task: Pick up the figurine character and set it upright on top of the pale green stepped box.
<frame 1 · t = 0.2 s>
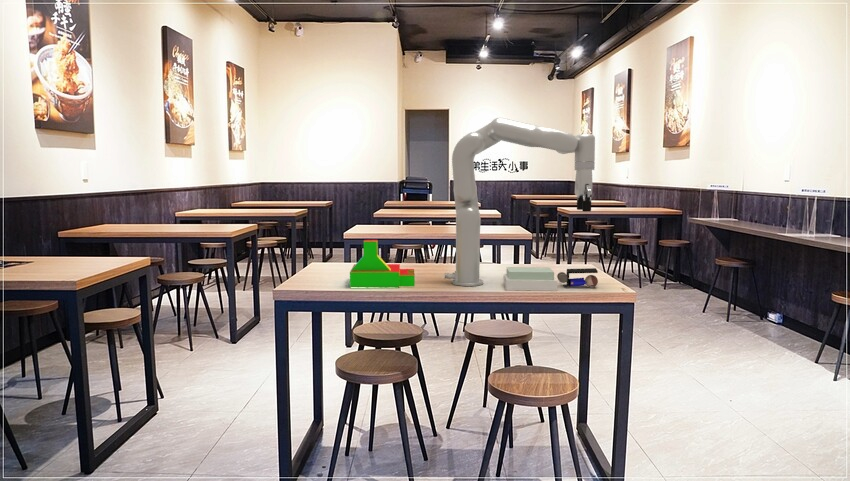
hand: (583, 210, 228), 30 cm above the table, tool pointing down, fingers open, 9 cm apart
pale green stepped box: (529, 287, 227), on the table
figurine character: (577, 287, 228), on the table
building blocks toy: (383, 284, 235), on the table
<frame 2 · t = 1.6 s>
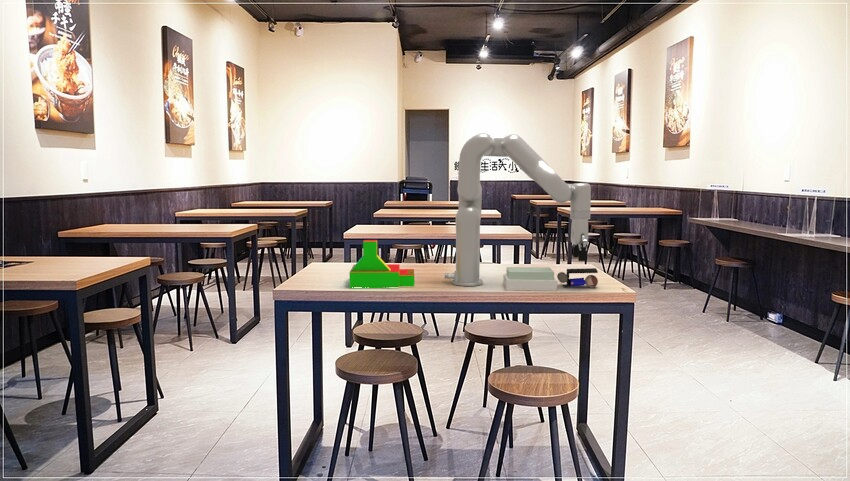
hand: (579, 258, 227), 11 cm above the table, tool pointing down, fingers open, 9 cm apart
nothing on the table moved.
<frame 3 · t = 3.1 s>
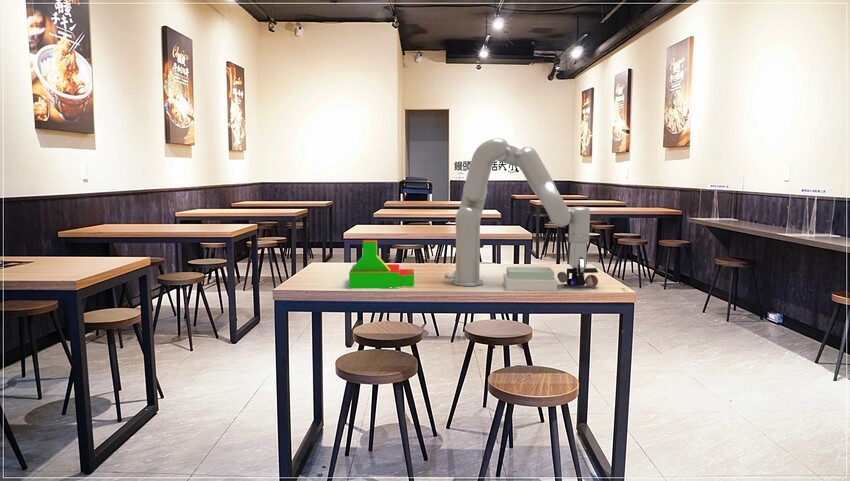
hand: (577, 283, 228), 1 cm above the table, tool pointing down, fingers closed on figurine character, 6 cm apart
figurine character: (577, 287, 228), on the table, touching gripper
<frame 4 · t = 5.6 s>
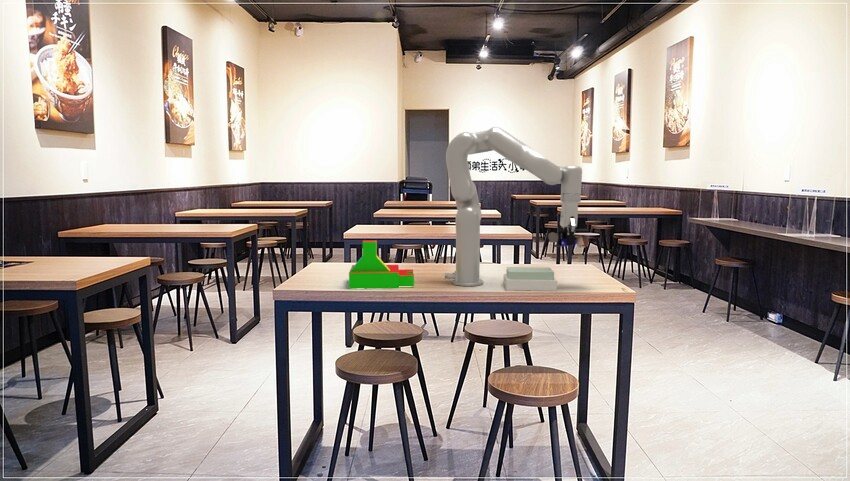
hand: (568, 243, 226), 17 cm above the table, tool pointing down, fingers closed on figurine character, 6 cm apart
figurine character: (568, 247, 226), point 15 cm above the table, touching gripper
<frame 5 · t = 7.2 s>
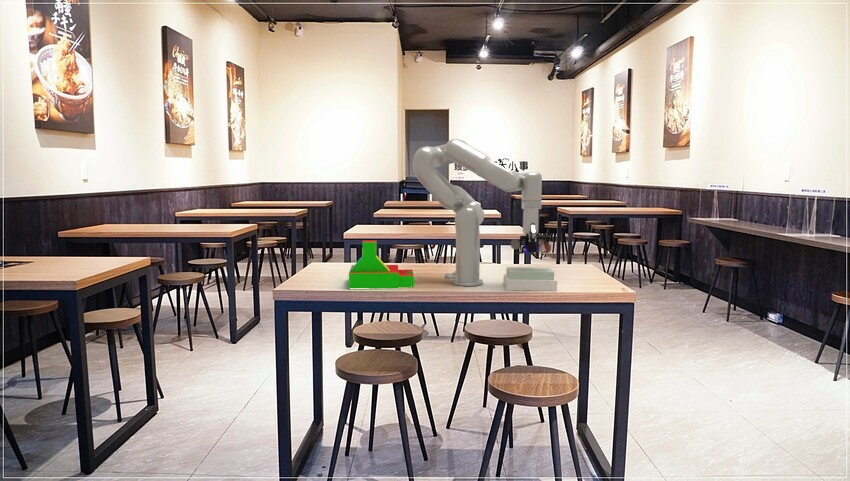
hand: (530, 250, 225), 15 cm above the table, tool pointing down, fingers closed on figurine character, 6 cm apart
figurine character: (530, 254, 226), point 13 cm above the table, touching gripper
when the fingers open (10 cm above the table, at t = 8.5 s): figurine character drops 1 cm, resting on pale green stepped box.
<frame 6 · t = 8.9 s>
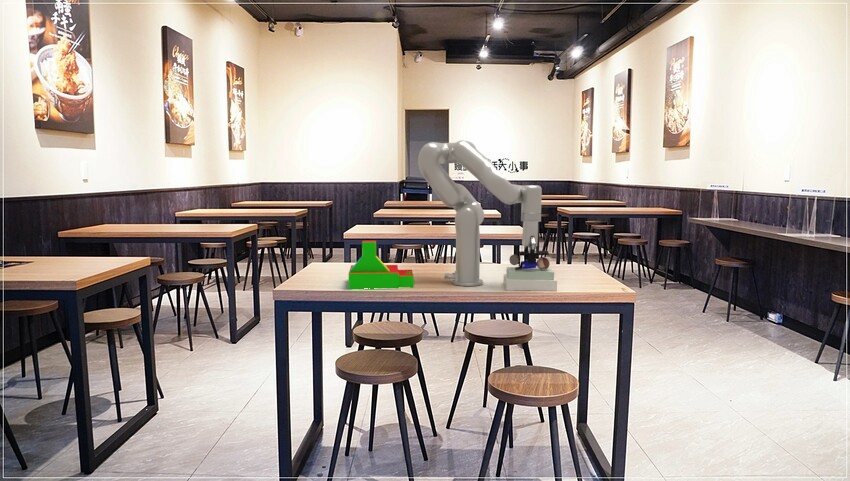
hand: (530, 261, 226), 10 cm above the table, tool pointing down, fingers open, 9 cm apart
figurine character: (529, 270, 226), point 7 cm above the table, touching pale green stepped box
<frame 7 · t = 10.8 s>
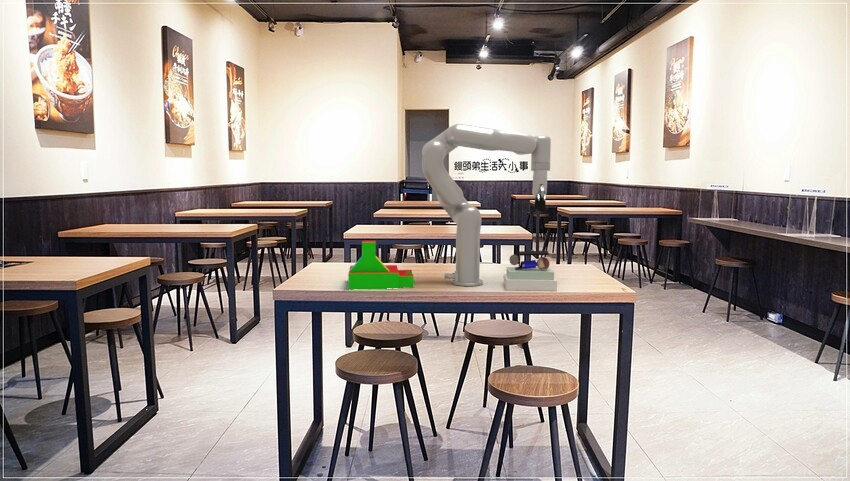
hand: (539, 210, 235), 29 cm above the table, tool pointing down, fingers open, 9 cm apart
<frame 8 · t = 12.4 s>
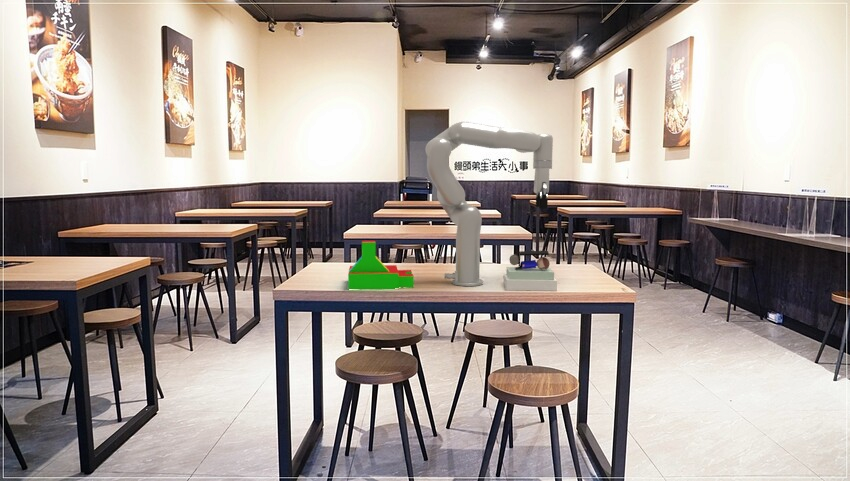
hand: (541, 207, 237), 30 cm above the table, tool pointing down, fingers open, 9 cm apart
at the end: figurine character inside the target area on the pale green stepped box (0.2 cm from its centre), point 6.8 cm above the pale green stepped box's base; the gripper is holding nothing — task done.
